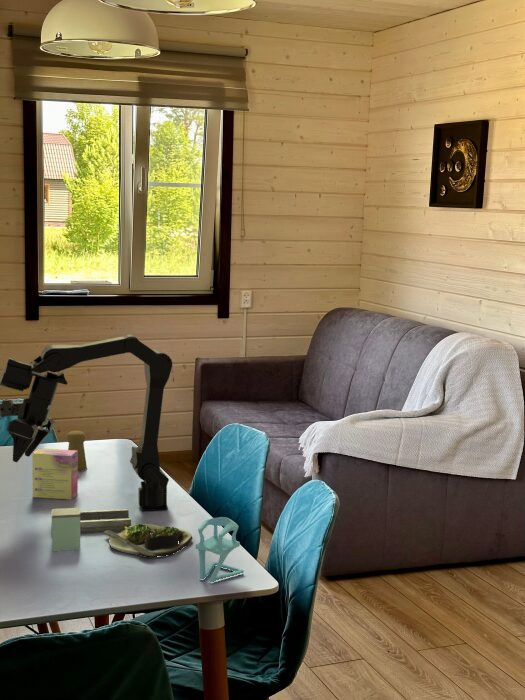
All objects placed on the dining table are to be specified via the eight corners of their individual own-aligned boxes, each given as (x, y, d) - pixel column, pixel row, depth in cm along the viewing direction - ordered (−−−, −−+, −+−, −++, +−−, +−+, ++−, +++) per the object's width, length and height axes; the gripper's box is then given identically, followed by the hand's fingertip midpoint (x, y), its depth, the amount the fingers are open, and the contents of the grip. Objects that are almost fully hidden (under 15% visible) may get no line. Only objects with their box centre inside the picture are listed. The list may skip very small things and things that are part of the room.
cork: (61, 470, 261) (61, 432, 259) (72, 465, 267) (71, 428, 265) (80, 472, 259) (80, 434, 257) (90, 467, 265) (90, 430, 263)
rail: (128, 518, 222) (128, 504, 222) (131, 530, 214) (131, 516, 213) (51, 521, 218) (51, 507, 218) (52, 535, 210) (51, 520, 209)
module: (79, 542, 206) (79, 507, 205) (80, 549, 202) (80, 514, 200) (52, 543, 205) (51, 509, 203) (52, 550, 200) (51, 515, 199)
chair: (190, 578, 188) (190, 522, 186) (214, 565, 194) (215, 511, 192) (220, 587, 183) (221, 530, 181) (244, 574, 190) (245, 518, 188)
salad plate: (84, 550, 202) (84, 530, 201) (128, 525, 218) (128, 507, 217) (161, 565, 194) (161, 545, 194) (200, 539, 211) (200, 519, 210)
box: (78, 493, 241) (78, 449, 239) (71, 500, 235) (71, 455, 233) (39, 491, 242) (39, 447, 240) (32, 498, 236) (31, 453, 234)
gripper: (21, 383, 228) (2, 442, 228) (-4, 388, 209) (-25, 453, 210) (63, 397, 227) (44, 457, 228) (42, 404, 209) (21, 469, 209)
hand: (21, 458), depth 219 cm, fingers open, 9 cm apart
